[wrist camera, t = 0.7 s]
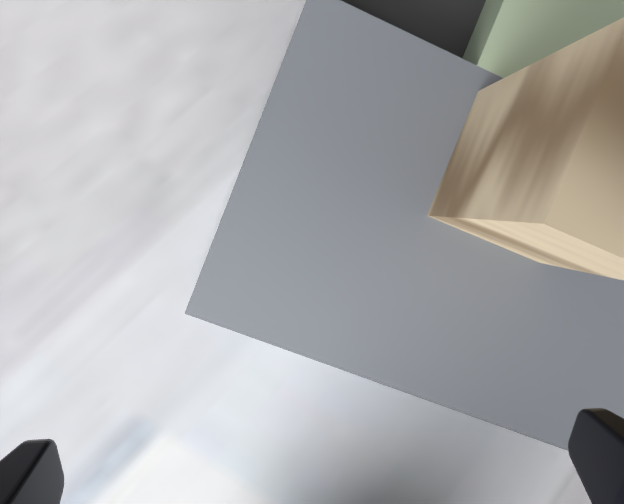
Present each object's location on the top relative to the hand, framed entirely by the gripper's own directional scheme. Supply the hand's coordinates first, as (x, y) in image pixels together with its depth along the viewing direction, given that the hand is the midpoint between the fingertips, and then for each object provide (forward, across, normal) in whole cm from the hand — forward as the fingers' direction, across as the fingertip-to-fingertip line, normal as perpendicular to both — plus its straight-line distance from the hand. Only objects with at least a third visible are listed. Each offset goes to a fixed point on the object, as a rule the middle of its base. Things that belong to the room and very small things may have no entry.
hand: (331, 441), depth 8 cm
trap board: (+17, -11, 0) cm, 20 cm away
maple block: (+14, -10, 0) cm, 18 cm away
